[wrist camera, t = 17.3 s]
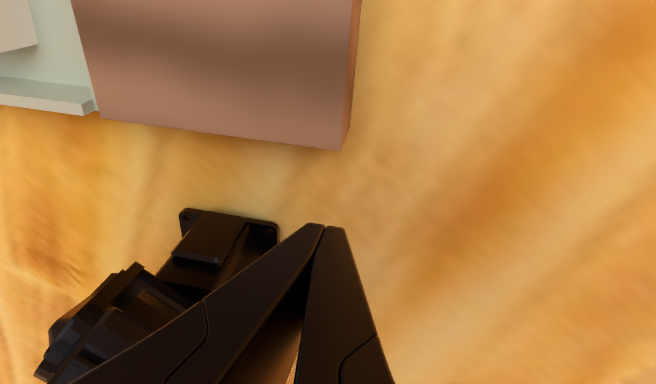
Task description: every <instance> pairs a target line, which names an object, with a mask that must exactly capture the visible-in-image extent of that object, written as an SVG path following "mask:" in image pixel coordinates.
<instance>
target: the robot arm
mask: <svg viewBox="0 0 656 384" xmlns="http://www.w3.org/2000/svg"><path fill="white" fill-rule="evenodd" d="M186 215H188V216H189V217H187V216H186ZM179 221H180V227H181V233H182V240H181V241H180V242H179V243H178V244H177V246H176V247H175V248H174V249H173V250H172V252H171V256H170V258H169V259H168V260H167V261H166V262H165V264H164V265H163V266H162V267H161V268H160V270H159V271H158V272H157V273H156V275H155V276H154V275H153V274H151V273H150V272H148V271H146V270H145V269H144V268H145V267H144V266H142V265H141V264H139V263H138V262H135V263H133V264H132V265H131V266H130V267H129V268H128V269H127V270H126V271H125V270H121V271H120V272H119V273H111V274H110V275H109V277H108V278H107V279H106V280H105V281H104V282H103V283H102V284H101V285H100V286H99V287H98V288H97V289H96V290H95V291H94V292H93V293H92V294H91V295H90V296H89V297H87V298H86V299H85V300H83V301H82V302H81V303H79V304H78V305H77V306H75V307H74V308H73V309H71V310H70V311H68V312H67V313H66V314H64V315H63V316H62V317H60V318H59V319H58V320H57V321H56V322H55V323H54V324H53V325H52V326H51V328H50V329H49V331H48V335H49V348H48V349H47V350H46V352H45V354H44V355H43V357H44V359H43V361H42V362H41V364H40V365H39V366H38V368H37V370H36V371H35V373H34V376H35V377H37V378H38V379H40V380H42V381H44V382H46V383H47V384H286V381H287V379H288V376H289V373H290V371H291V368H292V365H293V363H294V360H295V357H296V355H297V352H298V349H299V352H298V358H297V365H296V371H295V378H294V384H395V382H394V379H393V377H392V374H391V372H390V369H389V366H388V363H387V360H386V358H385V355H384V352H383V349H382V346H381V342H380V339H379V337H378V334H377V330H376V327H375V324H374V321H373V318H372V314H371V311H370V308H369V305H368V302H367V299H366V295H365V292H364V289H363V286H362V283H361V280H360V276H359V273H358V270H357V267H356V264H355V260H354V257H353V254H352V251H351V248H350V245H349V241H348V238H347V235H346V232H345V230H344V228H341V227H334V226H327V227H325V225H322V224H316V223H307V224H305V225H304V226H303V227H301V228H300V229H299V230H297V231H296V232H294V233H293V234H292V235H290V236H289V237H288V238H286V239H285V240H283V241H282V242H281V243H279V227H278V225H277V224H275V223H273V222H269V221H263V220H257V219H251V218H245V217H240V216H234V215H228V214H222V213H216V212H210V211H203V210H197V209H190V208H185V209H183V210H182V211H181V212H180V214H179ZM268 229H271V230H273V232H271V231H269V230H268Z"/></svg>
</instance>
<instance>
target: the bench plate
mask: <svg viewBox="0 0 656 384" xmlns="http://www.w3.org/2000/svg"><path fill="white" fill-rule="evenodd" d="M70 1H71V5H72V9H73V13H74V16H75V20H76V24H77V28H78V32H79V36H80V40H81V44H82V48H83V52H84V55H85V59H86V63H87V67H88V71H89V75H90V79H91V83H92V87H93V91H94V94H95V98H96V102H97V106H98V110H99V114H100V118H103V119H110V120H117V121H125V122H132V123H139V124H146V125H154V126H161V127H168V128H175V129H183V130H190V131H197V132H205V133H212V134H219V135H226V136H234V137H241V138H248V139H256V140H263V141H270V142H277V143H285V144H292V145H299V146H307V147H314V148H321V149H328V150H336V151H340V150H341V148H342V145H343V142H344V140H345V137H346V135H347V132H348V130H349V127H350V117H351V107H352V96H353V85H354V75H355V64H356V53H357V43H358V32H359V21H360V11H361V0H70Z"/></svg>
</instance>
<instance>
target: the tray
mask: <svg viewBox="0 0 656 384" xmlns="http://www.w3.org/2000/svg"><path fill="white" fill-rule="evenodd" d="M28 2H29V7H30V11H31V15H32V19H33V23H34V28H35V32H36V36H37V40H38V44H37V45H32V46H28V47H24V48H19V49H15V50H11V51H7V52H2V53H0V104H1V105H8V106H15V107H23V108H30V109H37V110H44V111H52V112H59V113H66V114H74V115H81V116H85V115H87V114H89V113H91V112H93V111H99V110H98V106H97V102H96V98H95V94H94V91H93V87H92V83H91V79H90V75H89V71H88V67H87V63H86V59H85V55H84V52H83V48H82V44H81V40H80V36H79V32H78V28H77V24H76V20H75V16H74V13H73V9H72V5H71V1H70V0H28Z"/></svg>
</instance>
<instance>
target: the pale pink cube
mask: <svg viewBox="0 0 656 384" xmlns="http://www.w3.org/2000/svg"><path fill="white" fill-rule="evenodd" d="M37 44H38V40H37V36H36V32H35V28H34V23H33V19H32V15H31V11H30V7H29V2H28V0H0V53H2V52H7V51H11V50H15V49H19V48H24V47H28V46H32V45H37Z"/></svg>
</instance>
